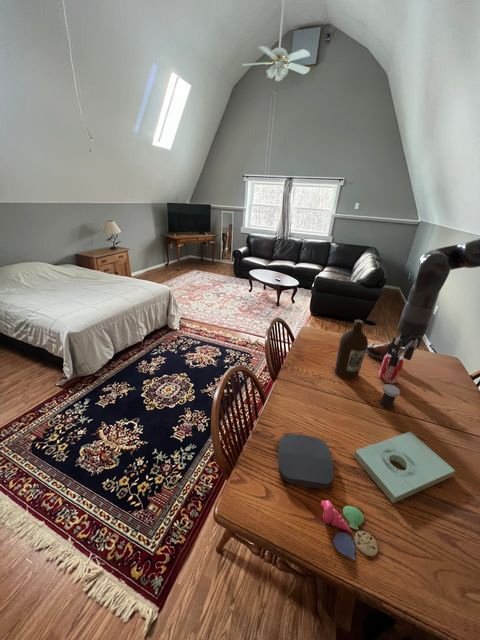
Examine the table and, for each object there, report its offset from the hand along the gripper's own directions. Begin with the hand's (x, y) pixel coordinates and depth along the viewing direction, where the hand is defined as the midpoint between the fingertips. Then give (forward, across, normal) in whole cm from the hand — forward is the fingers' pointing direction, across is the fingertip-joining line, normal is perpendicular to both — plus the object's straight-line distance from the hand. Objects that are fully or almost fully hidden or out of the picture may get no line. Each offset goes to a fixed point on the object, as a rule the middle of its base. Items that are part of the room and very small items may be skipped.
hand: (399, 362), depth 88 cm
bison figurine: (+20, +30, +22) cm, 43 cm away
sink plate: (+20, -17, -16) cm, 31 cm away
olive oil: (+20, +6, +21) cm, 30 cm away
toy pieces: (+20, -44, -19) cm, 52 cm away
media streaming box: (+20, -40, -2) cm, 45 cm away
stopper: (+20, +4, +1) cm, 21 cm away
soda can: (+20, +18, +10) cm, 29 cm away
